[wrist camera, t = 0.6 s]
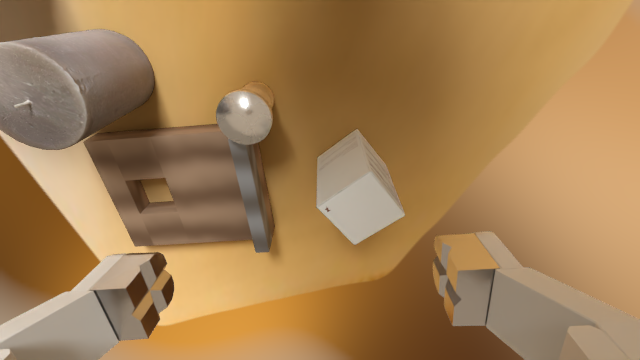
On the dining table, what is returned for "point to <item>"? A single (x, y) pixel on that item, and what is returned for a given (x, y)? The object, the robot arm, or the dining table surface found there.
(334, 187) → the supplement box
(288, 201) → the dining table surface
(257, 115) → the frosted bulb shape
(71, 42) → the pillar candle
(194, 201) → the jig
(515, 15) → the dining table surface
